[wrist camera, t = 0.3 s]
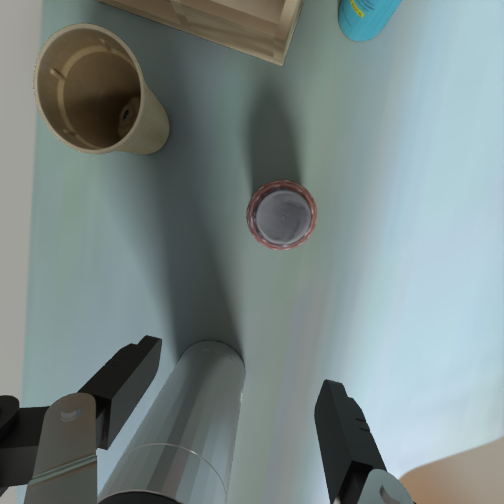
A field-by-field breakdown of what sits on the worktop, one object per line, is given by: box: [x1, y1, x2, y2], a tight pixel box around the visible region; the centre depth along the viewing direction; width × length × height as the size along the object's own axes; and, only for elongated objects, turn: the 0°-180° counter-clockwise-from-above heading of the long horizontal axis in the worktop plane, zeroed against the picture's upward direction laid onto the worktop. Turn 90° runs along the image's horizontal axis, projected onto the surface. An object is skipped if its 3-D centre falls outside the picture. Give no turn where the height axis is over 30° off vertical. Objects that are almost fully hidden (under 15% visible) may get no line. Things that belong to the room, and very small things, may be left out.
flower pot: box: [33, 23, 170, 155], centre depth 23 cm, size 9×9×9 cm
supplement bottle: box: [247, 180, 317, 250], centre depth 23 cm, size 6×6×11 cm
